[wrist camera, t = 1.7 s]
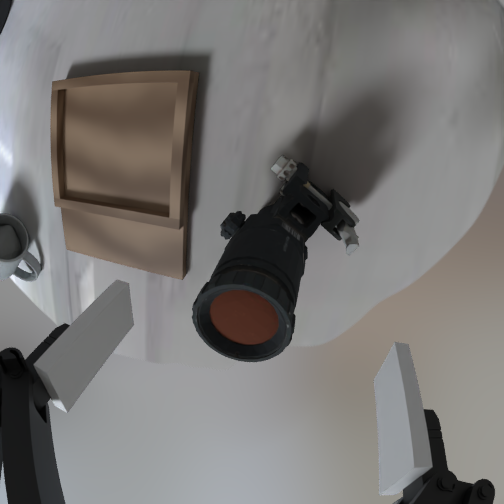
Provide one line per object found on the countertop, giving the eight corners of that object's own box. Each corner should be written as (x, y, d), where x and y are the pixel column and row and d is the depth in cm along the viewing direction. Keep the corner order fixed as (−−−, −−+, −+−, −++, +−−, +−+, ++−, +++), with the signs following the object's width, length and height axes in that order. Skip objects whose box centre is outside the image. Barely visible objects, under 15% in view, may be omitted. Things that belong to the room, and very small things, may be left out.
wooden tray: (64, 81, 25) (52, 81, 23) (199, 72, 23) (190, 70, 21) (71, 246, 34) (61, 253, 32) (186, 275, 32) (178, 285, 30)
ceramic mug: (-1, 235, 37) (-34, 257, 30) (10, 204, 34) (-28, 226, 27) (35, 284, 40) (4, 312, 33) (51, 260, 36) (15, 289, 30)
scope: (387, 303, 13) (257, 395, 18) (356, 209, 26) (283, 282, 30) (251, 187, 12) (147, 320, 17) (284, 146, 25) (216, 229, 29)
